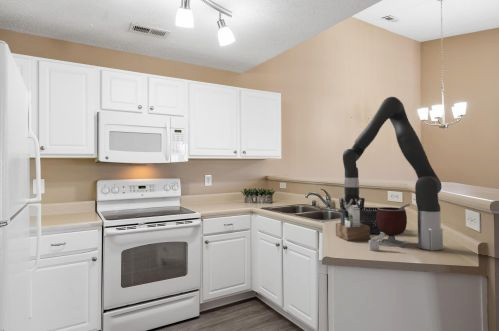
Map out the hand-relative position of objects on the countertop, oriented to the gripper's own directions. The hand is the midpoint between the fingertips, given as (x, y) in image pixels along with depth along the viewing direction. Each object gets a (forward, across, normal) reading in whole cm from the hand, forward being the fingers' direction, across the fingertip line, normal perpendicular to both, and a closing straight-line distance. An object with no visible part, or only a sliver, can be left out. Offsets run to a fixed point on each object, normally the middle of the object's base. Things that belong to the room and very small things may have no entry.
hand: (352, 217), depth 166 cm
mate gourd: (+11, +13, -16) cm, 23 cm away
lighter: (+11, -2, -25) cm, 27 cm away
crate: (+11, 0, 0) cm, 11 cm away
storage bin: (+11, +18, +16) cm, 27 cm away
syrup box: (+9, 0, 0) cm, 9 cm away
